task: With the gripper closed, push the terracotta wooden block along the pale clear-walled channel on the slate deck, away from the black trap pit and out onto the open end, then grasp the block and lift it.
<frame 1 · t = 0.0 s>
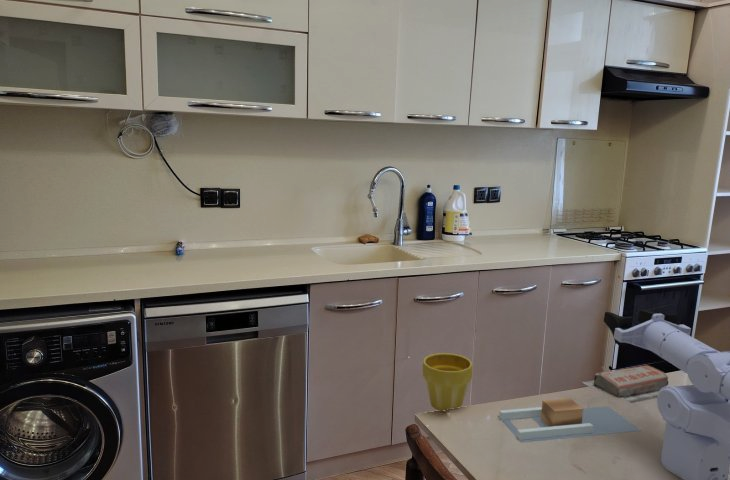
hand: (623, 315, 106), 22 cm above the table, tool horizontal, fingers open, 7 cm apart
packaged product: (627, 393, 123), on the table
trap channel: (567, 427, 106), on the table
block: (560, 423, 105), point 1 cm above the table, touching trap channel
plant pot: (445, 405, 114), on the table
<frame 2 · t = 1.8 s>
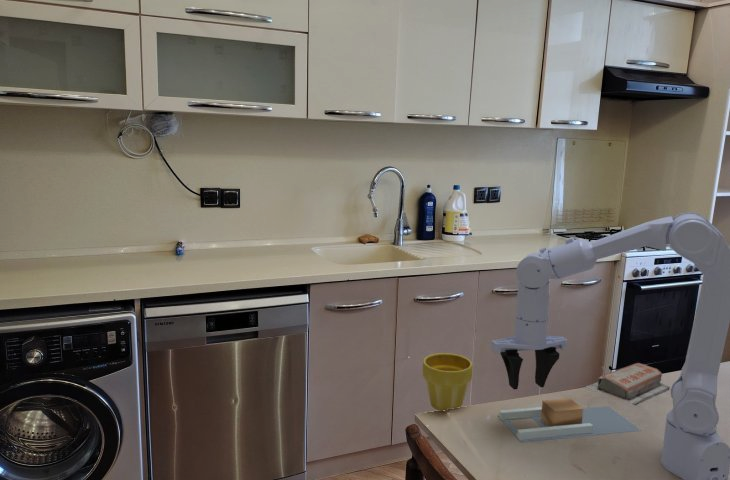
hand: (526, 386, 102), 9 cm above the table, tool pointing down, fingers open, 5 cm apart
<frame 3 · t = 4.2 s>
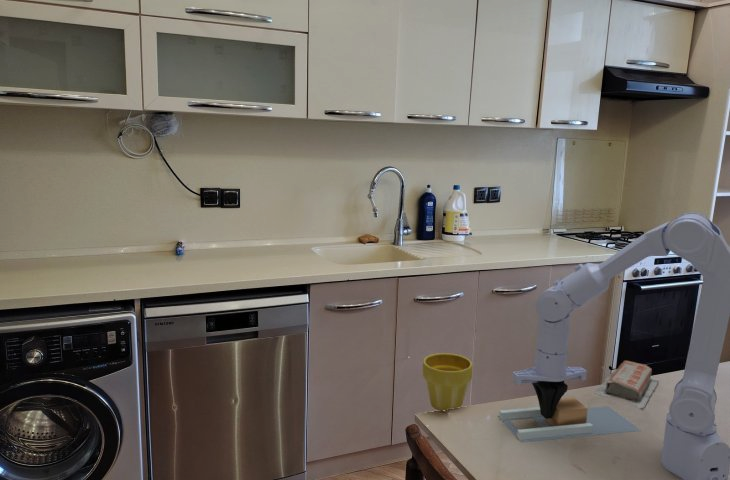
hand: (546, 416, 104), 3 cm above the table, tool pointing down, fingers closed
block: (565, 423, 106), point 1 cm above the table, touching gripper, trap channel
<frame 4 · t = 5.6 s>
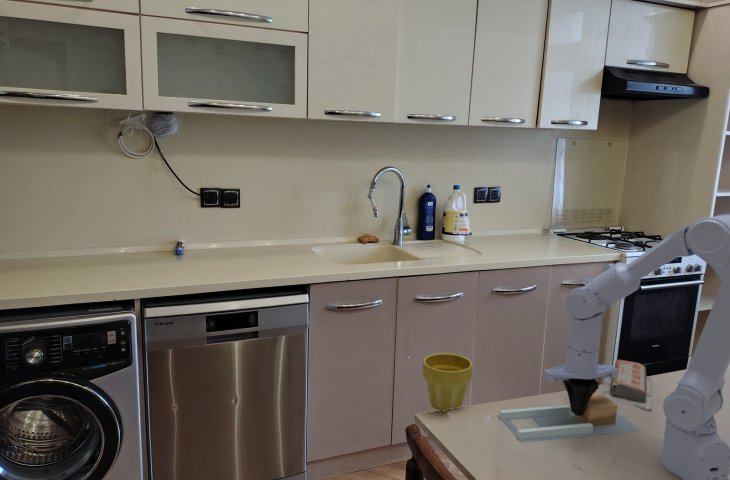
hand: (576, 413, 106), 3 cm above the table, tool pointing down, fingers closed
block: (594, 419, 107), point 1 cm above the table, touching gripper, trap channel
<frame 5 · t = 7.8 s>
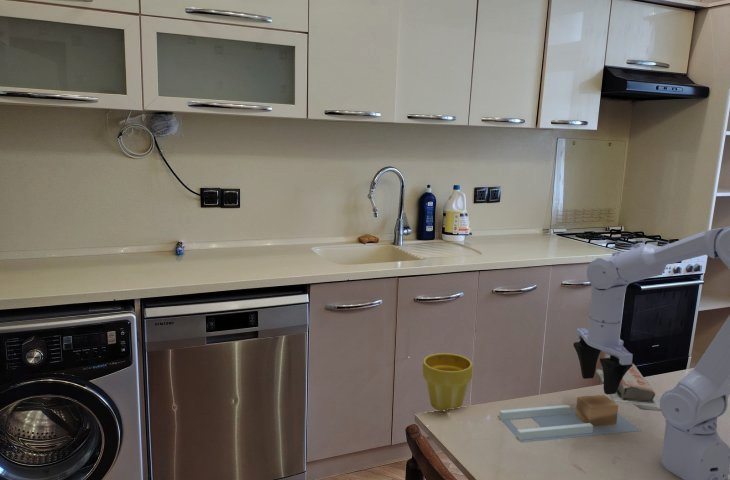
hand: (598, 385, 106), 8 cm above the table, tool pointing down, fingers open, 6 cm apart
block: (595, 419, 107), point 1 cm above the table, touching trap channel
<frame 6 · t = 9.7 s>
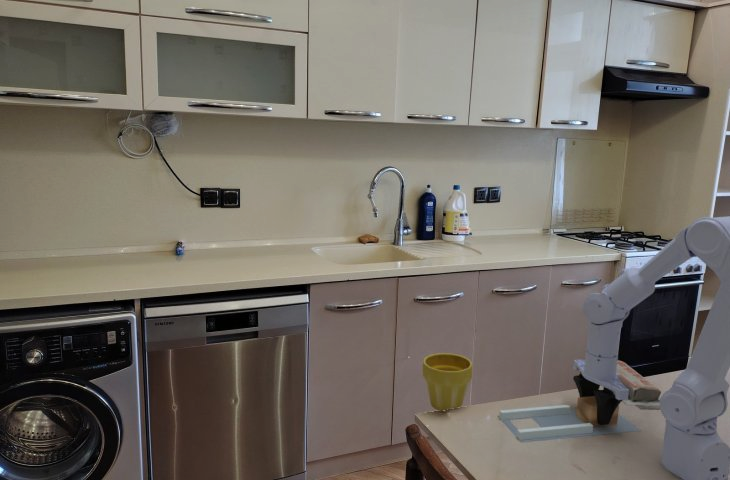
hand: (595, 417, 107), 2 cm above the table, tool pointing down, fingers closed on block, 4 cm apart
block: (596, 420, 107), point 1 cm above the table, touching gripper, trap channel
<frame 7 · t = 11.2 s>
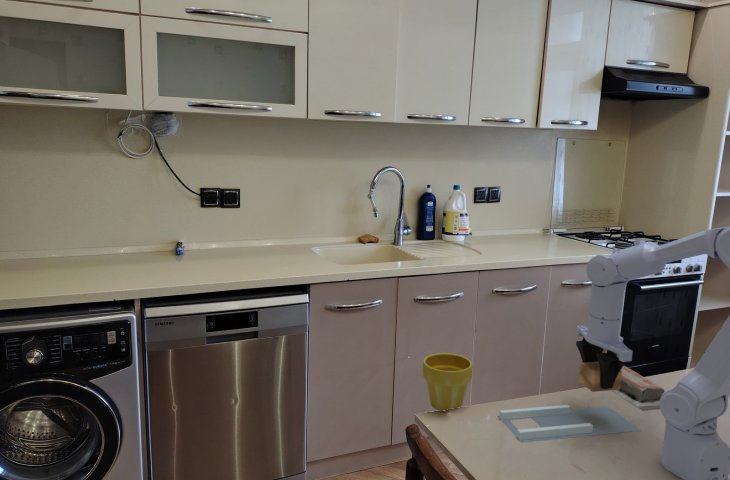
hand: (598, 382, 106), 9 cm above the table, tool pointing down, fingers closed on block, 4 cm apart
block: (599, 385, 106), point 8 cm above the table, touching gripper
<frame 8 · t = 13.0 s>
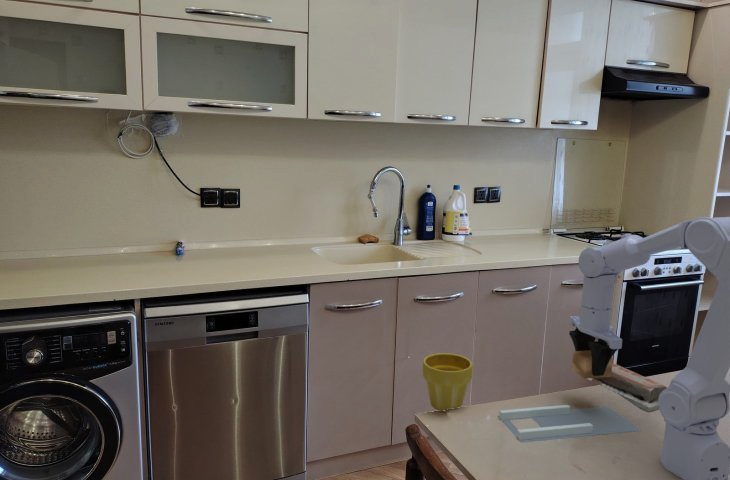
hand: (590, 369, 111), 9 cm above the table, tool pointing down, fingers closed on block, 4 cm apart
block: (591, 373, 111), point 9 cm above the table, touching gripper
at the end: the gripper is holding block; block point 8.7 cm above the table; block moved 13.0 cm from its start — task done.
